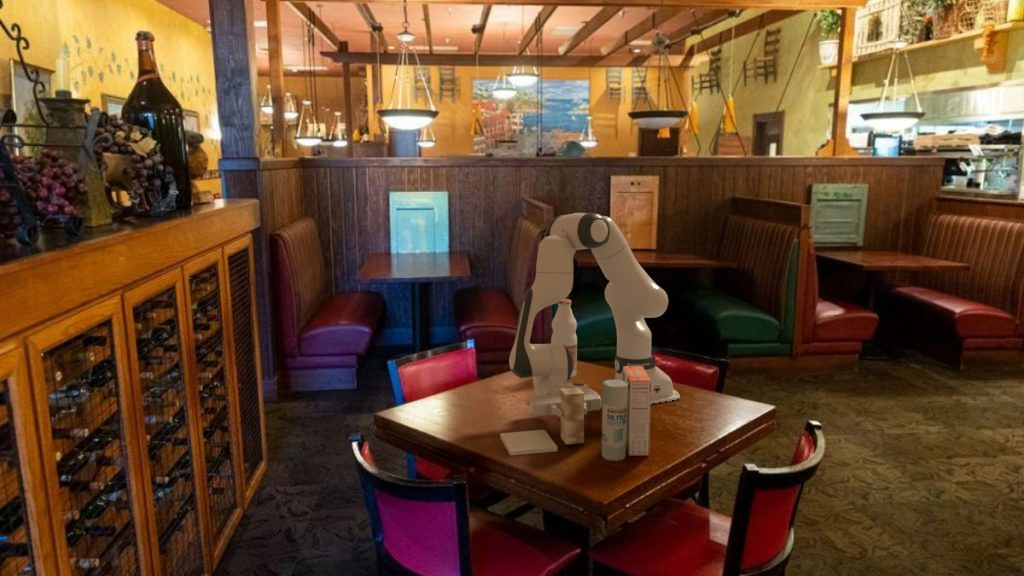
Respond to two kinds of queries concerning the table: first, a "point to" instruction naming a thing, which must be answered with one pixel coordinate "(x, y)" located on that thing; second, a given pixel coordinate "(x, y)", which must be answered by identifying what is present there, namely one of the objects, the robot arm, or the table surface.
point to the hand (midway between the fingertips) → (573, 413)
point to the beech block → (572, 415)
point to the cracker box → (637, 410)
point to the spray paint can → (614, 419)
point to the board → (528, 442)
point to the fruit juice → (565, 330)
